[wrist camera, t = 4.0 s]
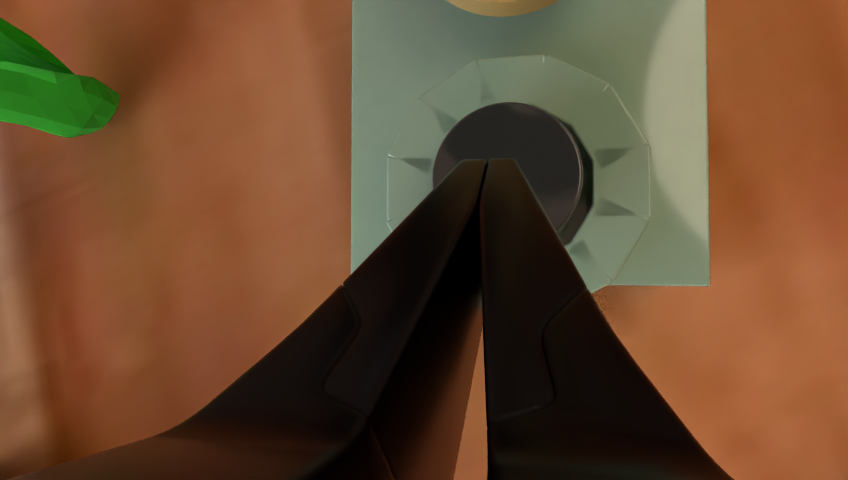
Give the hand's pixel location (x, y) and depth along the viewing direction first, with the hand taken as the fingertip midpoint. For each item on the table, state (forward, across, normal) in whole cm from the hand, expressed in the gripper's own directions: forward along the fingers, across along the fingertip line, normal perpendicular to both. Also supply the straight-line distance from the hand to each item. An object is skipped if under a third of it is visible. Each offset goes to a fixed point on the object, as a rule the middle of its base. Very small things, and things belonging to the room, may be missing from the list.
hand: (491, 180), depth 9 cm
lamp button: (+3, 0, +3) cm, 4 cm away
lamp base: (+10, 0, +5) cm, 11 cm away
